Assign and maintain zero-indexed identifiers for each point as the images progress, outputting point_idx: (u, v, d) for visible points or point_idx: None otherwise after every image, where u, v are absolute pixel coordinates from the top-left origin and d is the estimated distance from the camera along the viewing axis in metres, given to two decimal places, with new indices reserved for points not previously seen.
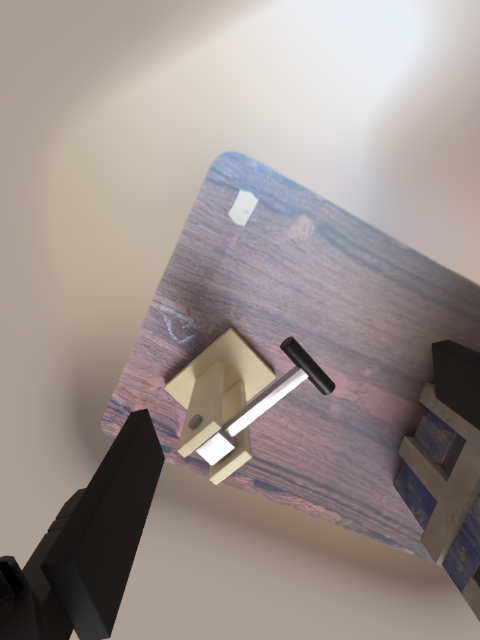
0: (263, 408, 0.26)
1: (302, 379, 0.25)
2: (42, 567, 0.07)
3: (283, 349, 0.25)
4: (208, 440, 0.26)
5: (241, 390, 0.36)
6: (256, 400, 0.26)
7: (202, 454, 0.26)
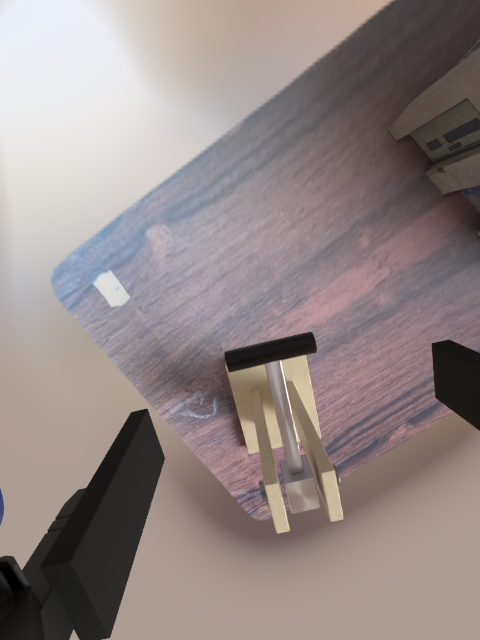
0: (289, 424, 0.21)
1: (279, 368, 0.19)
2: (42, 567, 0.07)
3: (231, 371, 0.19)
4: (288, 496, 0.21)
5: (290, 394, 0.31)
6: None
7: (300, 509, 0.22)
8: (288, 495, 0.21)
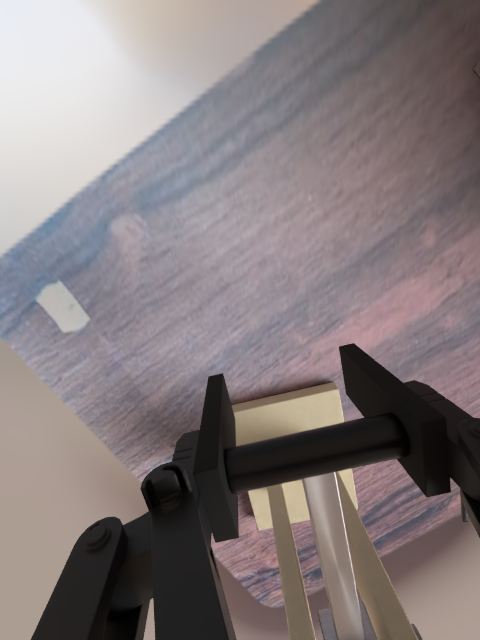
0: (345, 580, 0.11)
1: (333, 486, 0.10)
2: (195, 473, 0.09)
3: (237, 492, 0.10)
4: None
5: None
6: (322, 570, 0.12)
7: None
8: None
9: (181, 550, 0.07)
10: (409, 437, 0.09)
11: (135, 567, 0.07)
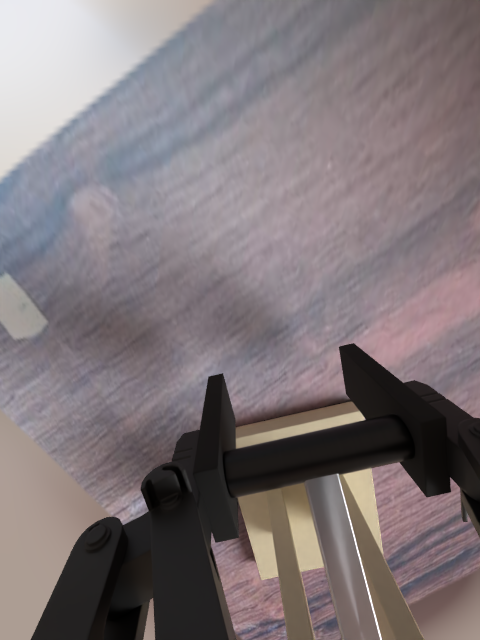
0: None
1: (338, 493, 0.09)
2: (195, 473, 0.09)
3: (235, 496, 0.09)
4: None
5: None
6: None
7: None
8: None
9: (181, 550, 0.07)
10: None
11: (135, 567, 0.07)
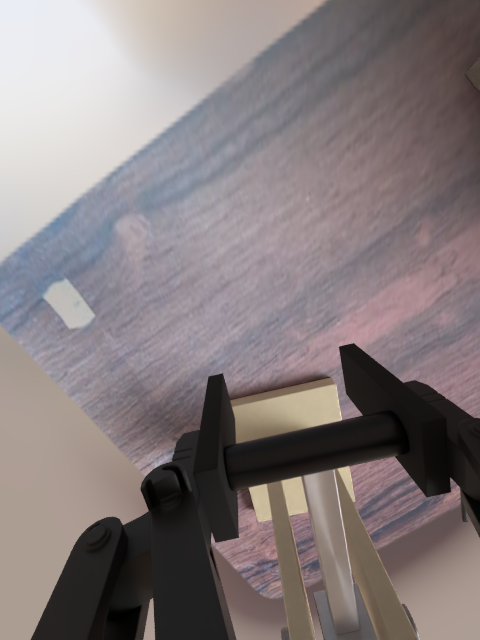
0: (341, 568, 0.11)
1: (331, 483, 0.10)
2: (195, 473, 0.09)
3: None
4: None
5: None
6: (318, 558, 0.12)
7: None
8: None
9: (181, 550, 0.07)
10: (409, 437, 0.09)
11: (135, 567, 0.07)
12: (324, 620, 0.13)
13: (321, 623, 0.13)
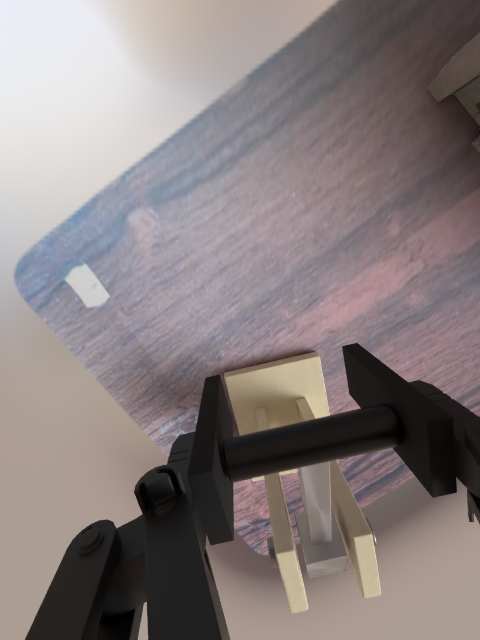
0: (324, 514, 0.13)
1: (325, 468, 0.11)
2: (189, 476, 0.09)
3: None
4: (308, 569, 0.16)
5: (303, 414, 0.25)
6: (304, 505, 0.14)
7: (321, 574, 0.17)
8: (309, 570, 0.16)
9: (175, 553, 0.07)
10: (415, 437, 0.09)
11: (128, 571, 0.07)
12: (303, 535, 0.16)
13: (300, 537, 0.16)
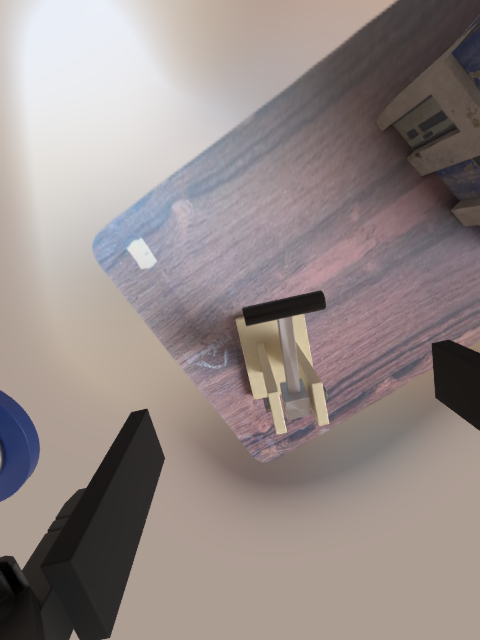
0: (293, 362, 0.25)
1: (291, 322, 0.22)
2: (42, 567, 0.07)
3: (248, 325, 0.22)
4: (286, 410, 0.27)
5: None
6: (283, 360, 0.25)
7: (294, 417, 0.28)
8: (287, 409, 0.27)
9: None
10: None
11: None
12: (284, 391, 0.28)
13: (282, 392, 0.28)
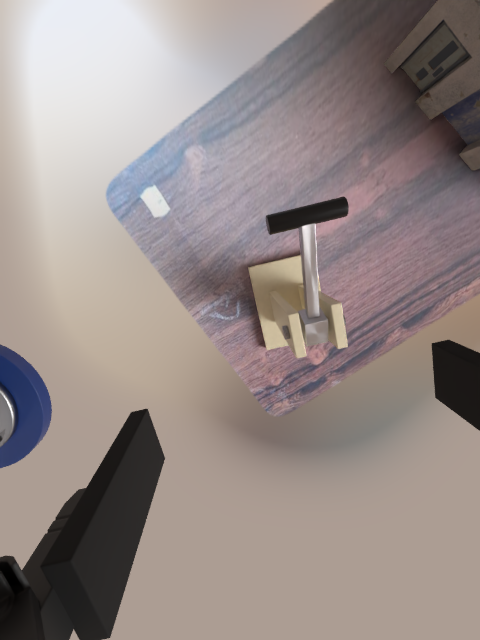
0: (314, 279, 0.25)
1: (313, 230, 0.23)
2: (42, 567, 0.07)
3: (272, 233, 0.22)
4: (306, 334, 0.28)
5: None
6: (303, 279, 0.26)
7: (313, 343, 0.29)
8: (306, 333, 0.28)
9: None
10: None
11: None
12: (303, 316, 0.28)
13: (301, 317, 0.28)
